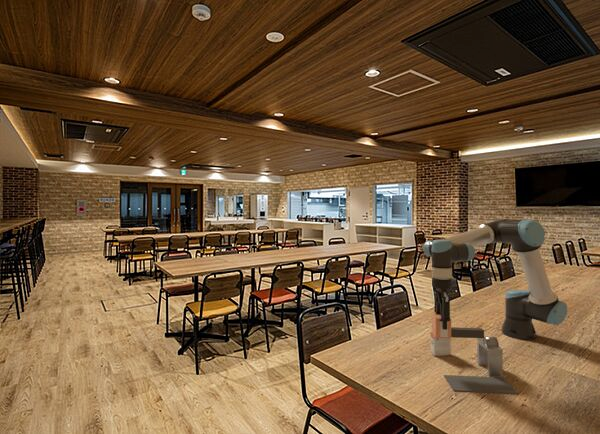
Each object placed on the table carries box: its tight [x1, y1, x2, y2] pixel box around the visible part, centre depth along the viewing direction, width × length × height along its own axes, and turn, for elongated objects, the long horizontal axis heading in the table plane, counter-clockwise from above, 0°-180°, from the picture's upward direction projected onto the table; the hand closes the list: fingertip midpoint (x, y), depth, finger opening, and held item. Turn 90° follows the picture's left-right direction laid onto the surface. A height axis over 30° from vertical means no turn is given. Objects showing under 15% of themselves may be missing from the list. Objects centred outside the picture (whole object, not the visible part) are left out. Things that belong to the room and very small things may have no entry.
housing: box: [476, 336, 504, 378], centre depth 136 cm, size 5×11×14 cm, turn 174°
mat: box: [443, 374, 519, 395], centre depth 125 cm, size 22×11×1 cm, turn 84°
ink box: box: [430, 331, 452, 357], centre depth 151 cm, size 4×8×15 cm, turn 96°
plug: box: [431, 313, 485, 339], centre depth 136 cm, size 19×5×8 cm, turn 84°
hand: (441, 333), depth 136 cm, fingers closed on plug, 5 cm apart
